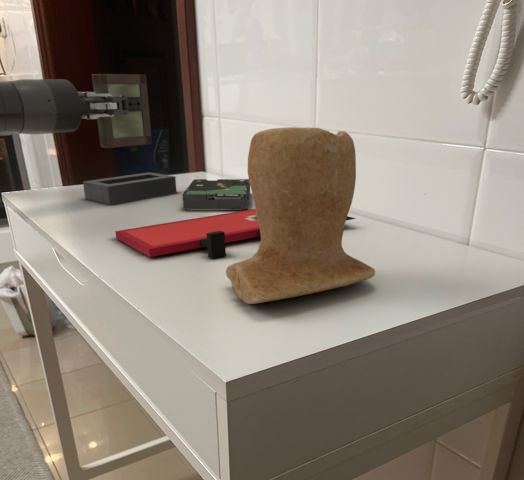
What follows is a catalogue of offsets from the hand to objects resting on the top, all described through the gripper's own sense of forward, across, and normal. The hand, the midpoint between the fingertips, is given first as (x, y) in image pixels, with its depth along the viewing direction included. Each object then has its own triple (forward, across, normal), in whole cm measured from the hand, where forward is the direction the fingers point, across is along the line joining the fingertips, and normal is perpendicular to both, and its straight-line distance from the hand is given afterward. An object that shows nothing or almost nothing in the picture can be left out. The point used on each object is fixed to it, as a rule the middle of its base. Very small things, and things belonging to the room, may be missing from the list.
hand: (137, 103), depth 95 cm
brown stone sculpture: (-20, -53, +16) cm, 59 cm away
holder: (-3, 0, +15) cm, 15 cm away
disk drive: (+4, -15, +15) cm, 22 cm away
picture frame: (-3, 0, +6) cm, 7 cm away
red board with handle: (-9, -34, +16) cm, 39 cm away
